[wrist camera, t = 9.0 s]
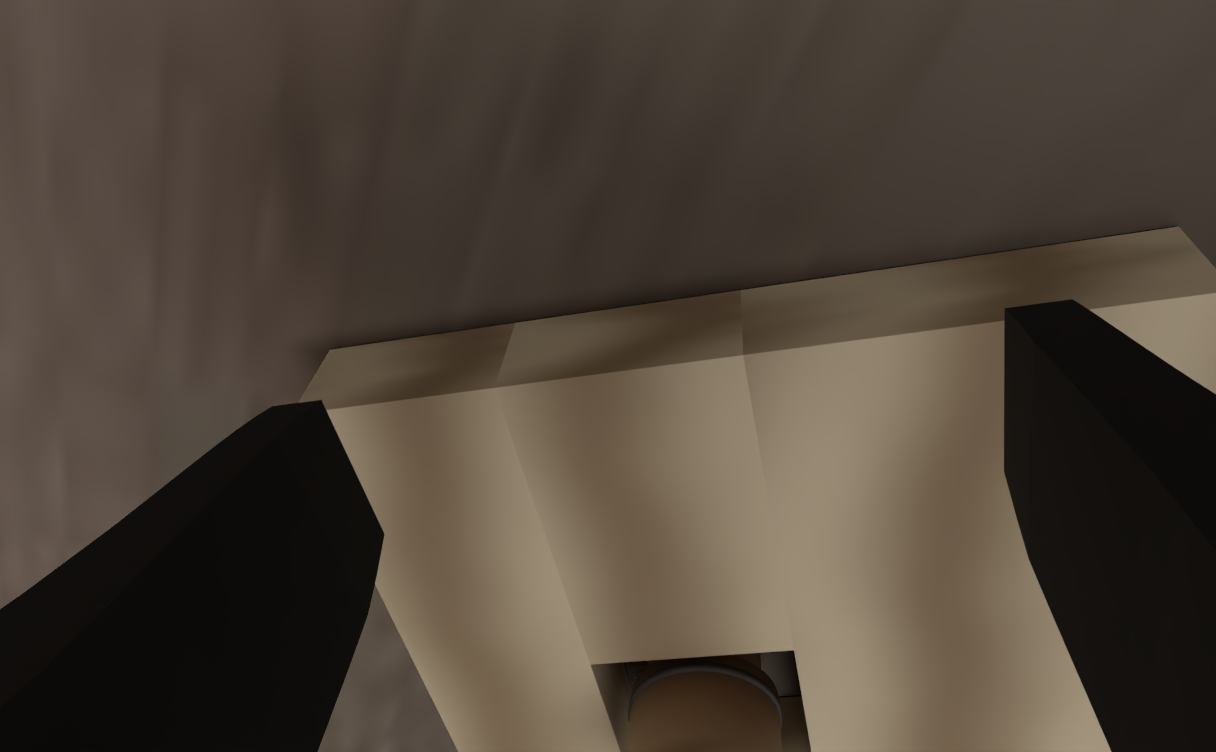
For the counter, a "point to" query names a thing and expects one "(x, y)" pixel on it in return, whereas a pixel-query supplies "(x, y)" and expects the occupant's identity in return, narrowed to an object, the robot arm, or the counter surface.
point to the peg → (705, 706)
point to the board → (742, 499)
